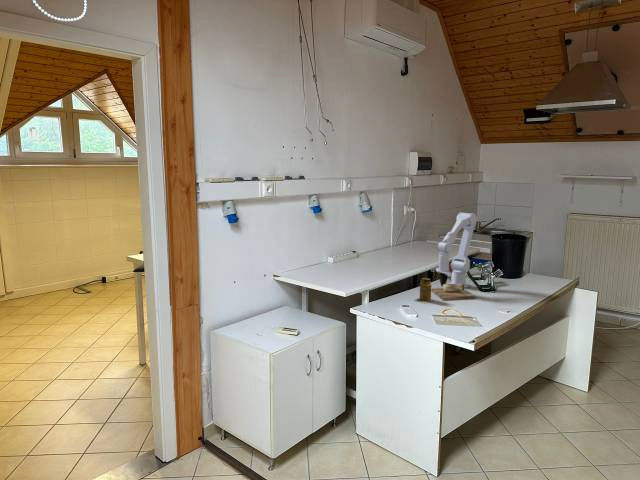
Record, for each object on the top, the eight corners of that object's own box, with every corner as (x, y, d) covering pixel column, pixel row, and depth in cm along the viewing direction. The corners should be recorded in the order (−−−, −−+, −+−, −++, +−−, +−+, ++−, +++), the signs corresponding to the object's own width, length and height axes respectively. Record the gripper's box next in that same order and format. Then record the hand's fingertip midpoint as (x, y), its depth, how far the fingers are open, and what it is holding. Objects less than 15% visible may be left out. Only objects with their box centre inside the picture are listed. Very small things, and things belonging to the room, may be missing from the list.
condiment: (434, 300, 260) (434, 278, 257) (425, 303, 254) (425, 281, 252) (422, 297, 265) (423, 276, 263) (413, 300, 259) (414, 279, 257)
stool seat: (431, 291, 276) (431, 288, 276) (461, 289, 278) (461, 286, 278) (443, 300, 258) (443, 297, 258) (474, 298, 261) (475, 295, 260)
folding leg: (462, 288, 274) (462, 283, 273) (465, 290, 270) (465, 285, 270) (443, 289, 272) (443, 284, 272) (445, 291, 269) (445, 286, 268)
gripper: (431, 260, 278) (430, 283, 281) (444, 266, 265) (443, 289, 267) (442, 259, 280) (441, 282, 283) (455, 265, 266) (454, 288, 269)
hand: (443, 285), depth 275 cm, fingers closed
